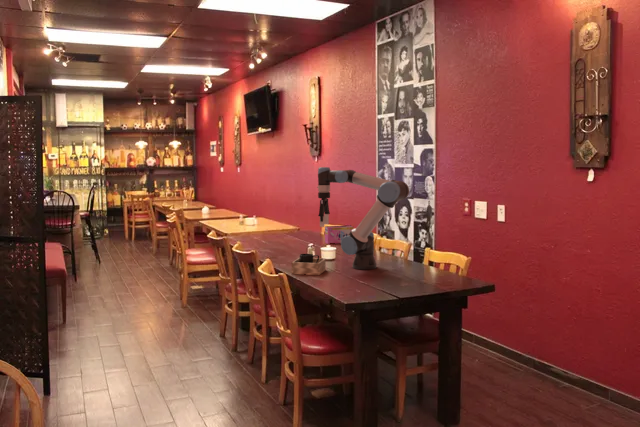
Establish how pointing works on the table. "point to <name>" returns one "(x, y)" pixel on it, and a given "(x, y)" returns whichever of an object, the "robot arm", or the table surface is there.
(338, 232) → the gum box
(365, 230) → the robot arm
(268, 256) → the table surface
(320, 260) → the open wooden box
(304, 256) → the mug
